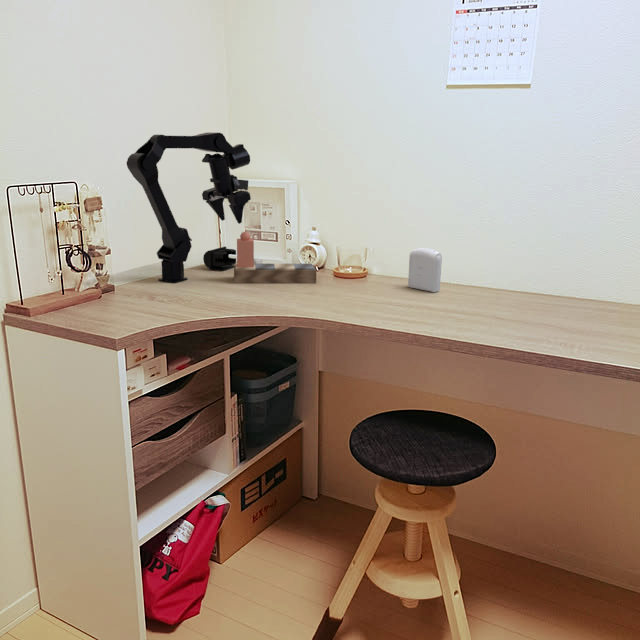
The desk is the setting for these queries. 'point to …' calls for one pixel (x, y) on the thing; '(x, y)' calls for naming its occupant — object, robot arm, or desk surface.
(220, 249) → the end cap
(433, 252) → the photo printer
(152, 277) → the desk surface
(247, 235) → the pawn
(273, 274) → the track
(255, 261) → the die
